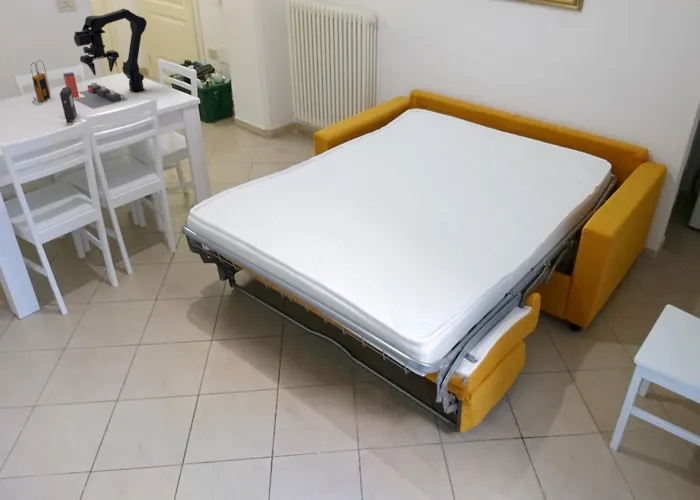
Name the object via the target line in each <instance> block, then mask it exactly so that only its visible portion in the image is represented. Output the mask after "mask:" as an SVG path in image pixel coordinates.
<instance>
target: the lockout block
mask: <svg viewBox="0 0 700 500" xmlns="http://www.w3.org/2000/svg"><path fill="white" fill-rule="evenodd" d="M62 74H63V79H64V84H65V87H69V88H71V92H72V96H73V98H76V97H79V94H78V92H79V90H78V86H77V82H76V77H75V73H74V72H73V71H72V72H63V73H62Z"/></svg>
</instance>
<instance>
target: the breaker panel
mask: <svg viewBox="0 0 700 500" xmlns="http://www.w3.org/2000/svg"><path fill="white" fill-rule="evenodd" d="M78 94H79V97H76V98H73V100H74V101H76V102H78V103H81V104H82V105H84V106H86V107H89V108H91V109H92V110H93V109H98V108H102V107H105V106H110V105H115V104H117V103H120V102H121V103H122V102H124V101H129V99H127V98H125V97H124V96H123V95H121V94H120V93H118V92H116V90H114V89H108V88H107V87H106V86H105V85H100V84H98V83H97V82H96V81H91V84H90V85H89V84H88V85H87V90H83V91H78Z"/></svg>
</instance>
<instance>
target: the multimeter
mask: <svg viewBox="0 0 700 500" xmlns="http://www.w3.org/2000/svg"><path fill="white" fill-rule="evenodd" d="M39 61H41V63H42V65H43V69H44V72H45V73H42V72H39V69H38V63H39ZM33 64H34V66H35V71H36V74H35V75H34V74H33V71H32V69H30V71H31V75H32V77H31V79H32V82H33V88H34V90H35V91H34V92H35V95H36V96H33V95H32V96H31V97H32V98H33V99H35V100H33V102H32V104H33V105H36V103H35V101H37V102H45V101H47V100H48V99H51V90H50V85H49V80H48V76H47V72H46V68H45V64H44V62H43V61H42V60H41V59H39V60H37V61H36V63H35V61H34V62H32V63H31V64H30V66H32V65H33Z"/></svg>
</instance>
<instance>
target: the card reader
mask: <svg viewBox="0 0 700 500" xmlns="http://www.w3.org/2000/svg"><path fill="white" fill-rule="evenodd" d="M59 97H60V102H61V104H62V105H61V106H62V109H63V114H64V118H65V121H66V122H67V123H70V124H71V123H74V122H75V121H74V120H76V117H77V116H78V114H77V110H76V109H77V108H76V105H75V100H73V96H72V92H71V88H69V87H66V86H64V87H63V88H62V89H61V91H60V92H59Z"/></svg>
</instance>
